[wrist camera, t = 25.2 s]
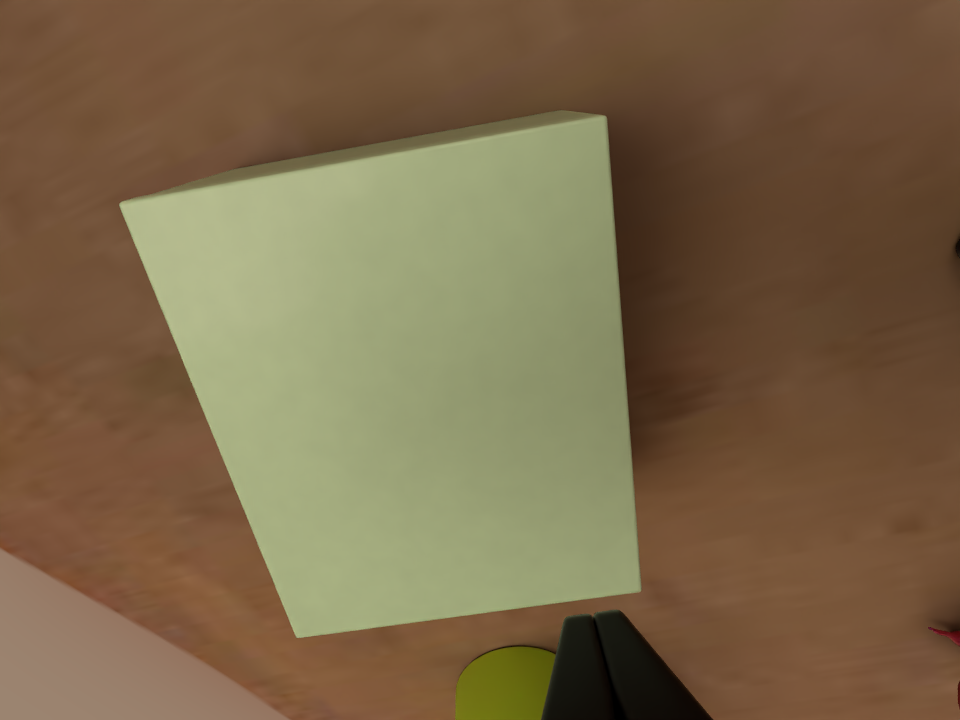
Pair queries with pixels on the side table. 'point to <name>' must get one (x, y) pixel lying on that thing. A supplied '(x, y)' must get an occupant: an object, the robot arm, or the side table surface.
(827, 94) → the side table surface
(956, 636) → the decorative bird figurine
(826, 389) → the side table surface
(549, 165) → the lid
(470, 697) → the soap dispenser
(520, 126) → the chest
